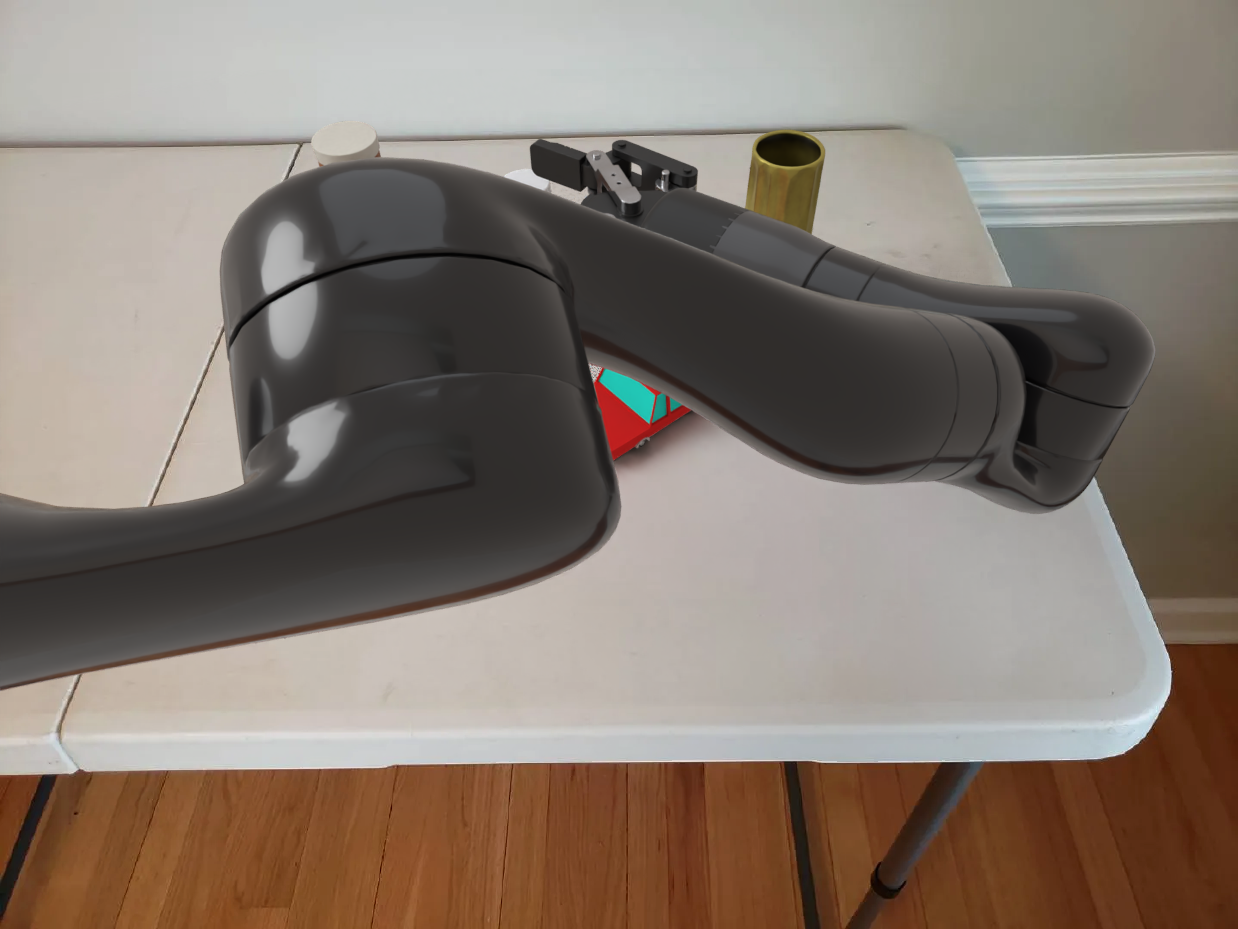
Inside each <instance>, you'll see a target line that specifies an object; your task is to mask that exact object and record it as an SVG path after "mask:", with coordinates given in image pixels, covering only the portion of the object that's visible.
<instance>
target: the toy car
mask: <svg viewBox="0 0 1238 929" xmlns="http://www.w3.org/2000/svg"><path fill="white" fill-rule="evenodd" d="M593 383H594V386H595V390H596V394H597V398H598V402H599V406H600V408H601V410H602V416H603V421H604V425H605V429H606V433H607V437H608V441H609V445H610V449H611V453H612V458H613V461H615V460H617V459H618V458H619V457H621V456H623V455H624V454H626V453H628V452H629V451H630V450H632V449H633V448H636V449H639V448H640V447H643V446H644V445H645V443H646V440H647V441H648V442H650V441H651V437H652V436H654V435H655V434H657V433H658V432H660V431H662V430H663V429H665V428H666V427H668V426H669V425H671V424H672V423H674V422H675V421H676V420H678V419H680V418H682V417H683V416H685V415H686V414H688V413H689V412H691V411H692V410H691V409H689V408H687V407H685V406H684V405H682V404H680V403H678V402H677V401H675V400H673V399H672V398H670V397H668V396H666V395H665V394H663V393H661V392H659V391H657V390H654V389H652V388H650V387H648V386H646V385H644V384H642V383H640V382H638V381H636V380H634V379H632V378H629V377H627V376H624V375H622V374H619V373H616V372H614V371H611V370H608V369H605V368H601V369H600V371H599V373H598V375H597V376H596V379H595V381H593Z"/></svg>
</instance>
